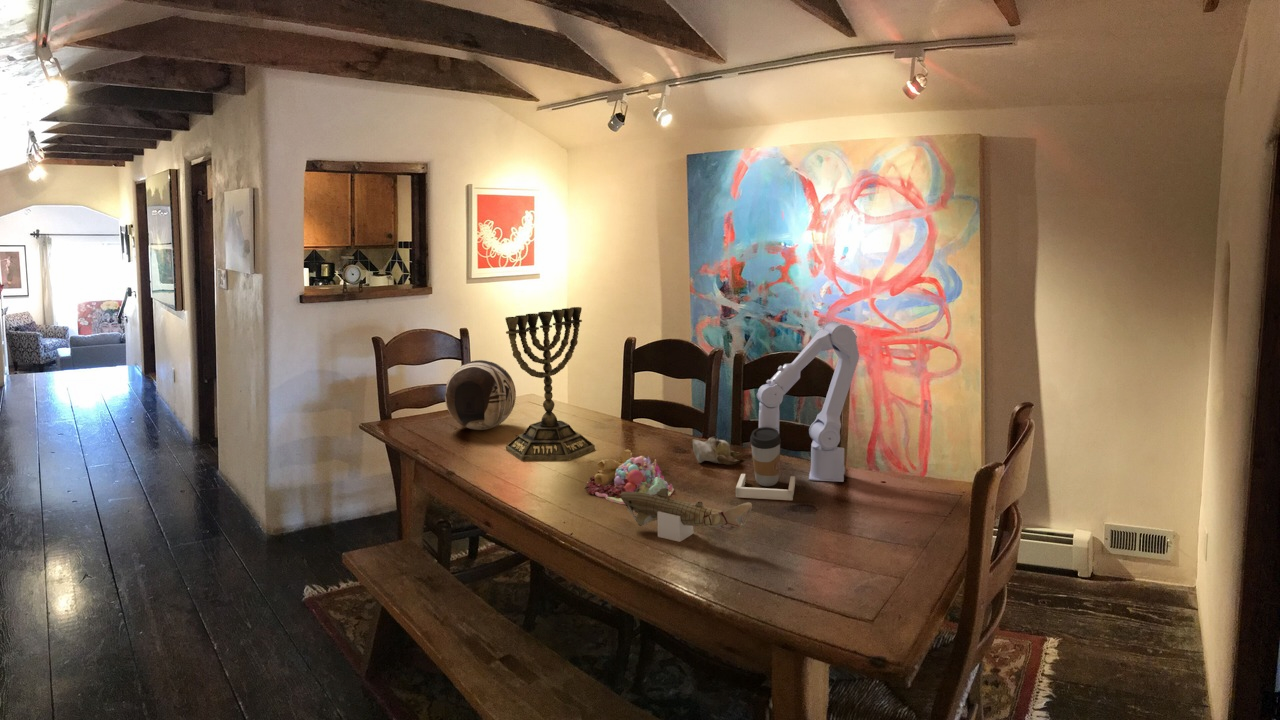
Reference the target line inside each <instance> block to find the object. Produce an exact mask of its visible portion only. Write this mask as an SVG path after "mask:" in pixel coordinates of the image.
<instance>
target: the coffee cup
mask: <svg viewBox="0 0 1280 720" xmlns="http://www.w3.org/2000/svg"><path fill="white" fill-rule="evenodd" d="M749 443H750V444H751V445H750V446H751V457H752V462H753V471H754V477H755V478H754V479H755V481H756V483H757V484H758V485H759V486H762V487H772V486H775V485H776V484H777V483H778V481H779V479H780V478H779V477H780V467H781V465H780V462H781V443H782V441H781V436H780V432H779V433H778V431H777V430H776V429H774V428H770V427H761V428H759V427H757V428H755V429H753V430H752V431H751V435H750V439H749Z"/></svg>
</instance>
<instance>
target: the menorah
mask: <svg viewBox="0 0 1280 720" xmlns="http://www.w3.org/2000/svg"><path fill="white" fill-rule="evenodd" d="M581 314H582V306H572V307H568V308H567V307H566V308H561V309H552V311H538V313H526V314H525V315H524V314H521V315H515V316H508V317H507V316H506V317H505V322H506V325H507V329H508V330H507V331H505V334H506V335H508V339H509V344H510V347H511V351H512V356H513V358H514V359H516V362H517V363H518V365H519V367H520V369H521V370H523V371H524V372H525V373H527V374H528V375H529V376H531V377H535V378H539V379H543V383H544V387H543V391H544V395H543V397H544V399H545V400H544V401H543V403H542V406H543V409H544V411H545V413H543V415H542V416H541V420H539V421H537V422H534V423H532V424H529V426H528V427H527V428H526V429H525V431H524V432H523V433H520V434H518V435H517V436H516V437H514V439H512V440H511V441H510V442H509V443H507V444H506V445H505V451H506V452H508V453H509V454H511V455H512V456H514V457H515V458H517V459H518V460H520V461H521V462H539V461H540V462H549V461H550V462H555V461H557V462H558V461H560V462H561V461H564V462H565V461H566V462H567V461H571V460H573V459H575V458H578V457H580V456H583V455H585V454H587V453H590V452H592V451H596V450H595V448H596V447H595V444H593V443H592V442H591V441H590V440H589V439H588V438H586V437H584V436H583V435H582V434H581V433H579V432H577V431H575V430H574V429H573V428H572V426H571V424H568V423H567V422H565V421H563V420H558V418H557V416H556V414H555V413H554V412H553V410H554V408H555V402H554V401H553V400H552V398H553V395H554V394H553V392H552V391H553V386H552V383H553V379H552V377H551V376H554V375H556V374H558V373H559V372H561V371H562V370H564V368H565V367H566V365H567V364H568V363H569V361H571V359H572V358H573V353H574V351H575V349H576V347H577V346H578V343H579V342H578V338H579V331H580V329H579V328H580V325H581V324H580V323H582V322H583V320H582V319H580V317H581ZM552 318H553V319H554V322H553V323H552V324H551V321H552ZM538 320H540V322H541V324H542V325H539V326H537V324H538ZM563 320H564V321H563ZM527 324H528V325H527ZM527 326H528V327H527ZM553 326H554V329H555V334H554V335H553V337H552V341H550V336H549V332H550V330H551V328H553ZM517 327H518V329H517ZM563 327H564V329H565V330H564V336H563V339H561V335H562V332H561V331H562V330H563ZM572 327H573V332H572V338H571V340H570V341H569V338H570V333H571V329H572ZM540 328H541V329H542V333H543V341H542V343H543V344H541V341H540V340H539V338H538V337H537V334H538V333H537V331H538V330H539V329H540ZM527 332H528V333H529V335H530V339H531V344H532V345H533V347H535V348H536V349H538V351H540V352H543V353H542V357H543V358H539V357H538V356H537V355H535V353H534V352H533V351H532V348H531V347H530V346H529V344H528V341H527ZM517 335H518V336H517ZM517 337H519V338H520V342H521V345H522V348H523V353H524V354H525V355H527V357H528V358H529V360H531V361H532V362H533V363H536V364H537V363H538V364H541V365H543V366H542V369H543V371H537V370H536V369H533V368H531V367H530V366H529V364H528V363H527V361H525V360H524V359H523V357H522V352H521V351H520V350H519V347H518V344H517V340H516V339H517ZM560 341H561V342H560ZM559 342H560V346H559V347H558V350H557V351H555V353H554V354H553V355H552V353H551V351H550V350H553V349H554V348H555V347H556V346H557V344H558V343H559ZM569 342H570V343H569ZM568 345H570V346H569V347H568V349H567V352H565V349H566V348H567V346H568ZM564 352H565V354H564V358H563V360H561V362H559V363H558V364H557V366H556V367H554V368H553V367H552V364H551V363H553V362H554V361H556V360H557V359H559V358H560V357H561V356H562V353H564Z"/></svg>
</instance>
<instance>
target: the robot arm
mask: <svg viewBox="0 0 1280 720" xmlns="http://www.w3.org/2000/svg"><path fill="white" fill-rule="evenodd" d="M857 337H858V336H857V335H856V333H855V332H854V331H853V329H852V327H850V326H849V325H846V324H841V323H840V322H838V321H833V320H832V321H829V322H826V323H825V324H824V325H823V327H821V328H820V329H819V330H818V331H816V332H815V334H814V336H813V337H812V338H811V340H810V341H809V342H808V343H807V344H806V345H805V347H804V348H803V349H802V350H801V351H800V352H799V353H798V355H797V356H796V357H795V358H794V360H793V361H792V362H791V363H784V364H783V365H779V366H778V368H777V372H776V373H774V375H773V376H772V377H771V378H770V379H769V378H768V379H767V380H766V381H765V382H766V383H765V384H762V385H761V386H760V387H759V388H758V390H757V393H756V394H755V395H756V398H757V400H758V401H759V403H758V405H759V408H758V409H759V410H758V428H761V427H770V428H774V429H776V430H777V431H778V433H779V434H780V415H781V414H780V405H781V404H782V402H783V400H784V395H785V394H787V393H788V392H789V391H790V389H791V388H792V387H793V386H794V385H795V384H796V383H797V382H798V381H799V380H800V379H801V372H802V371H803V369H804V368H806V366H808V365H809V364H810V363H811V362H812V361H813V360H814V359H815V358H816V357H817V356H818V355H819V354H820V353H821V352H825V351H830V350H833V351H834V352H835V354H836V356H837V359H838V360H837V362H836V365H835V368H834V372H833V375H832V377H831V381H830V384H829V387H828V391H827V393H826V397H825V399H824V403H823V405H822V409H821V410H820V412H818V413H817V415H816V418H815V420H814V421H813V422H812V423H811V424H810V426H809V428H808V434H809V435H808V436H809V437H810V438H811V440H812V442H811V444H810V445H811V446H810V471H809V475H808V480H809V481H818V482H820V481H821V482H833V483H834V482H835V483H838V482H839V483H843V482H845V481H844V480H845V474H846V467H845V448H844V447H839V446H838V445H839V444H840V441H841V432H840V431H841V428H842V424H841V415H842V411H843V408H844V405H845V402H846V399H847V397H848V393H849V390H850V388H851V385H852V381H853V378H854V375H855V371H856V368H857V365H858V363H859V360H860V353H859V347H858V344H857V343H858V342H857Z"/></svg>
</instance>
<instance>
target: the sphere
mask: <svg viewBox="0 0 1280 720" xmlns="http://www.w3.org/2000/svg"><path fill="white" fill-rule="evenodd" d="M444 389H445V390H444V402H445V406H446V408H447V411H448V412H449V414H450V416H451V418H453V420H455V422H457V423H458V424H459V425H461V426H463V427H464V428H466V429H471V430H475V431H486V430H490V429H493V428H496V427H498V426H499V425H501V424H502V423H504V421H506V420H507V419H508V417H509V416H510V415H511V413H512V411H513V409H514V407H515V404H516V398H517V392H516V386H515V383H514V381H513V379H512V376H511V375H510V373H509V372H508V371H507V370H506V369H505V368H504V367H502V366H501V365H499V364H497V363H495V362H493V361H489V360H483V359H480V360H479V359H478V360H471V361H468V362H466V363H464V364H462V365H460V366H459V367H457V368H456V370H454V371H453V372H452V373H451V375H450V376H449V378H448V381H447V382H446V385H445V388H444Z"/></svg>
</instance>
